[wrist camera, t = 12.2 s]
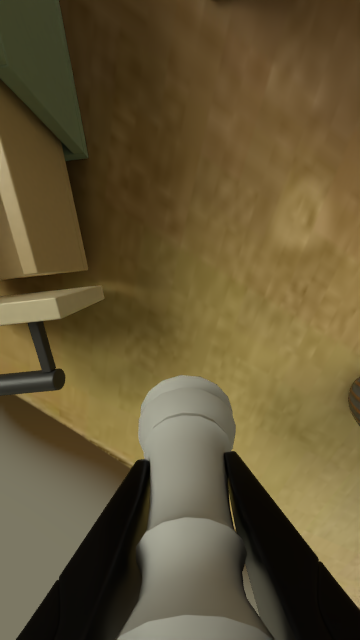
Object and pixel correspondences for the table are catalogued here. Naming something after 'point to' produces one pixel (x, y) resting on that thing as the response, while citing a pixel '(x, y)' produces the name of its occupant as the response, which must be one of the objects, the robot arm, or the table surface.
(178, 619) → the rook chess piece
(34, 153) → the drawer
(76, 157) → the cabinet
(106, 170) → the table surface
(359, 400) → the vase
